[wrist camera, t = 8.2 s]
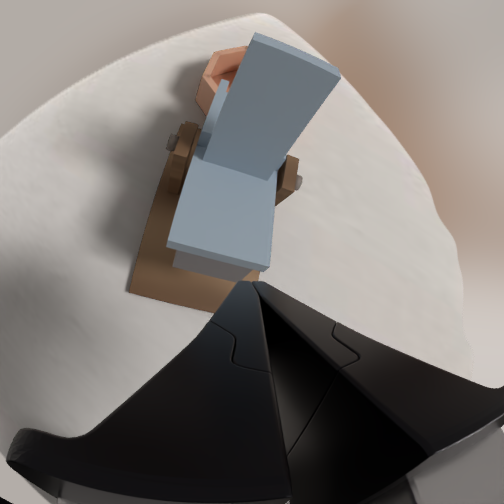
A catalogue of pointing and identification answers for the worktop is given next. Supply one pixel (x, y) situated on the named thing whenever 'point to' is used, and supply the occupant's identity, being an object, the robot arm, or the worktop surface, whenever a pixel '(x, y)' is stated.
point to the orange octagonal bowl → (218, 74)
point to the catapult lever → (245, 159)
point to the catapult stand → (159, 225)
